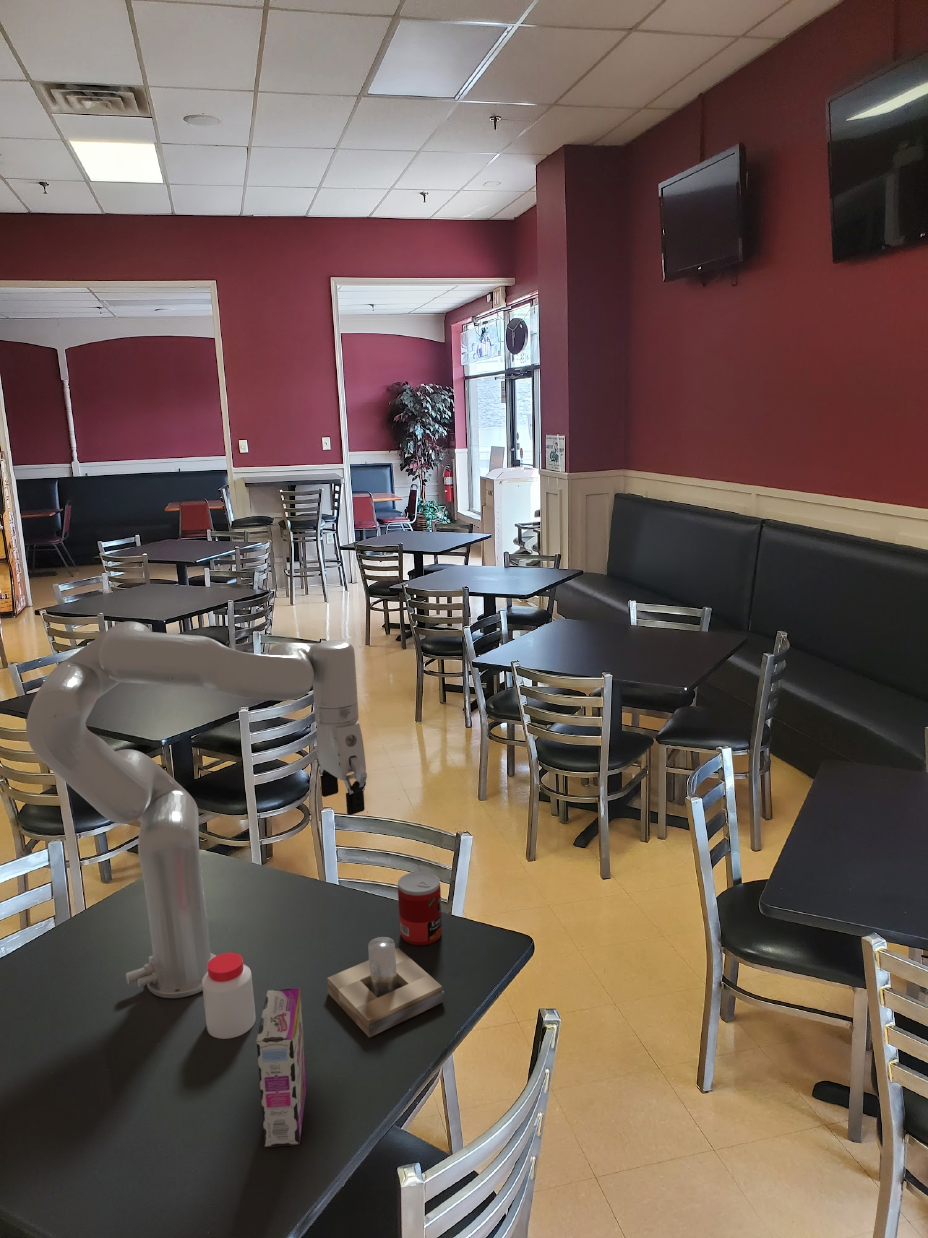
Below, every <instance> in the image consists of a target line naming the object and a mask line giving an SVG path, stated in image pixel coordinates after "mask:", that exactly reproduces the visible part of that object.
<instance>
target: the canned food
mask: <svg viewBox="0 0 928 1238" xmlns="http://www.w3.org/2000/svg"><path fill="white" fill-rule="evenodd" d="M441 891H442V889H441V880H440V878H439V877H438V876H437V875H435V874H433V873H431V872H427V871H414V872H409V873H407V874H404V875H402V876H401V877H400V878H399V879H398V881H397V899H398V900H397V901H398V915H399V931H400V932H399V933H400V936H401V939H403V940H404V941H405V942H406V943H407V944H410V945H413V946H427V945H431V944H433V943H435V942H436V941H438V940H439V939H440V938H441V935H442V931H443V921H442V899H441V897H442V895H441V894H442V893H441Z"/></svg>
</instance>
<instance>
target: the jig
mask: <svg viewBox="0 0 928 1238" xmlns="http://www.w3.org/2000/svg"><path fill="white" fill-rule="evenodd" d="M395 956H396V974H397V989H396V990H394V991H392V992H390V993H387V994H385V995H383V996H381V997H379V998H377V997H376V996H375V995H374V994H373V993H372V992H371V983H370V967H369V959H367V960H365V961H363V962H361V963H359V964H357V965H353V966H352V967H349V968H347V969H344V970H342V971H340V972H338V973H335V974H333V975H331V976H328V977H327V994H328V995H329V996H330V997H331V998H332V999H333V1000H334V1001H335V1002H336V1004H338V1006H339V1007H340V1008H341V1009H342V1010H343V1011H344V1012H345V1013H346V1014H347V1015H348V1016H349V1017H350V1019H351V1020H353V1022H354V1023H355V1024H356V1025H357V1026H358V1027H359V1029H361V1030H362V1032H363V1033H364V1034H366V1036H367V1037H368V1038H371V1037H374V1036H376V1035H377V1034H380V1033H382V1032H384V1031H386V1030H388V1029H390V1028H392V1027H395V1026H397V1025H399V1024H401V1023H403V1022H405V1021H407V1020H409V1019H411V1018H413V1017H416V1016H417V1015H419V1014H421V1013H424V1012H426V1011H427V1010H430V1009H432V1008H434V1007H437V1006H438V1005H440V1004H442V1003H443V1002H445V1000H446V999H445V996H446V995H445V991H444V990H443V985H441V984H440V983H439V982H438V981H437V980H435V979H434V978H433V977H432V976H431V975H430V974H429V973H428V972H426V971H425V970H424V969H423V968H422V967H421V966H419V964H417V962H415V961H414V960H413V959H412V958H411V957H409V956H408V955H407V954H406V953H405V952H404V951H402V949H400V948H399V947H395Z"/></svg>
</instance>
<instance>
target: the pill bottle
mask: <svg viewBox="0 0 928 1238" xmlns="http://www.w3.org/2000/svg"><path fill="white" fill-rule="evenodd" d="M207 967H208V972H207V973H206V974H205V975H204V977H203V979H202V989H203V991H202V995H203V1007H204V1015H205V1022H206V1023H205V1026H206V1031H207V1032H208V1034H209V1035H210V1036H211V1037H212V1038H216V1039H222V1040H225V1039H226V1040H227V1039H233V1038H236V1037H240V1036H242V1035H244V1034H246V1033H247V1032H249V1031H250V1030H251V1029H252V1028H253V1027H254V1025H255V1023H256V1020H257V1019H256V1018H257V1016H256V1006H255V995H254V984H253V977H252V975H253V974H252V971H251V969H250V967H249V966H247V964H244V959H243V956H242V955H240V954H239V953H236V952H224V953H220V954H218V955H216V957H214V958H212V959H211V960H210V961H209V963H208V966H207Z"/></svg>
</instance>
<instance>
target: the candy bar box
mask: <svg viewBox="0 0 928 1238" xmlns="http://www.w3.org/2000/svg"><path fill="white" fill-rule="evenodd" d="M302 1009H303V1008H302V996H301V988H297V987H296V988H285V989H283V988H282V989H272V990H271V989H270V990H267V992H266V995H265V1001H264V1005H263V1009H262V1014H261V1016H260V1017H261V1018H260V1022H259V1028H258V1030H257V1031H258V1032H257V1037H256V1042H255V1043H256V1050H257V1051H256V1052H257V1063H258V1075H259V1077H258V1078H259V1088H260V1099H261V1100H260V1101H261V1112H262V1113H261V1114H262V1123H263V1124H262V1126H263V1135H264V1136H263V1138H264V1147H265V1148H272V1147H273V1148H274V1147H286V1146H288V1147H289V1146H297V1145H300V1142H301V1136H302V1135H301V1134H302V1126H303V1119H304V1110H305V1102H306V1101H305V1100H306V1095H307V1094H306V1093H307V1087H308V1086H307V1085H308V1084H307V1072H306V1071H307V1069H306V1068H307V1067H306V1056H305V1044H304V1043H305V1042H304V1026H303V1010H302Z"/></svg>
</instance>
